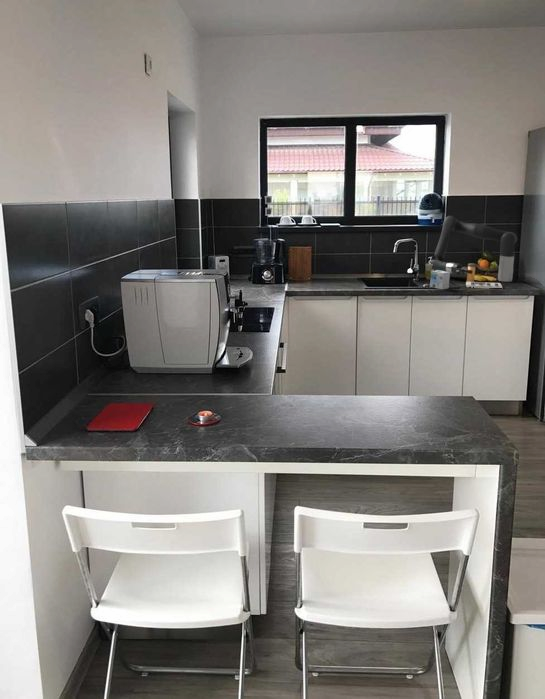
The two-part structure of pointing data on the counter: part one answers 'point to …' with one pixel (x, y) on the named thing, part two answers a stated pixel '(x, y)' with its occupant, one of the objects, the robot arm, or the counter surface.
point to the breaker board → (483, 285)
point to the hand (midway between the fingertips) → (474, 271)
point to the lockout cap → (471, 276)
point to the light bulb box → (439, 279)
